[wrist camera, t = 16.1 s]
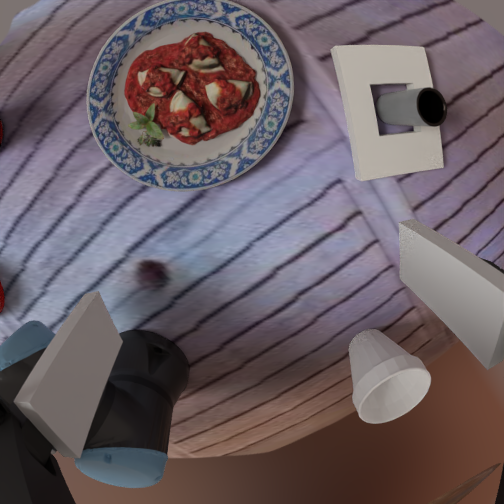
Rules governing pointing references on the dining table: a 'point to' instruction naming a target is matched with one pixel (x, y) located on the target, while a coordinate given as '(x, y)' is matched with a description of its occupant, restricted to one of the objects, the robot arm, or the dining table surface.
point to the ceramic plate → (190, 94)
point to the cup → (385, 377)
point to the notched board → (363, 112)
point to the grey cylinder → (412, 107)
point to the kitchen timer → (1, 298)
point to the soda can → (1, 132)
